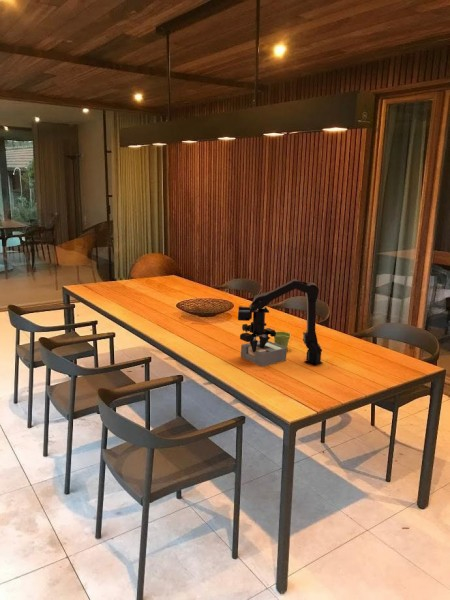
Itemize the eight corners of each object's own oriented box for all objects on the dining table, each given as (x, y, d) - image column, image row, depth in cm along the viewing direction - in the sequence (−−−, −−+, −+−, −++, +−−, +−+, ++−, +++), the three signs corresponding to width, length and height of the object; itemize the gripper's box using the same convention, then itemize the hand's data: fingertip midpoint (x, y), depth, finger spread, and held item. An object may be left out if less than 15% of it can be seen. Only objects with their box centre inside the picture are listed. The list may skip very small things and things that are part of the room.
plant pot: (292, 349, 256) (293, 333, 254) (285, 354, 248) (286, 337, 246) (276, 345, 260) (277, 330, 258) (269, 350, 252) (270, 334, 250)
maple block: (266, 357, 233) (266, 350, 233) (260, 358, 231) (260, 351, 230) (254, 352, 240) (254, 345, 240) (248, 353, 238) (248, 346, 237)
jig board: (286, 360, 239) (286, 347, 237) (261, 366, 229) (262, 353, 228) (264, 351, 251) (265, 339, 249) (240, 357, 241) (241, 344, 240)
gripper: (262, 314, 243) (260, 343, 247) (233, 319, 232) (232, 350, 236) (277, 319, 235) (275, 349, 238) (248, 325, 224) (246, 357, 227)
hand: (257, 351), depth 235 cm, fingers closed on maple block, 4 cm apart
